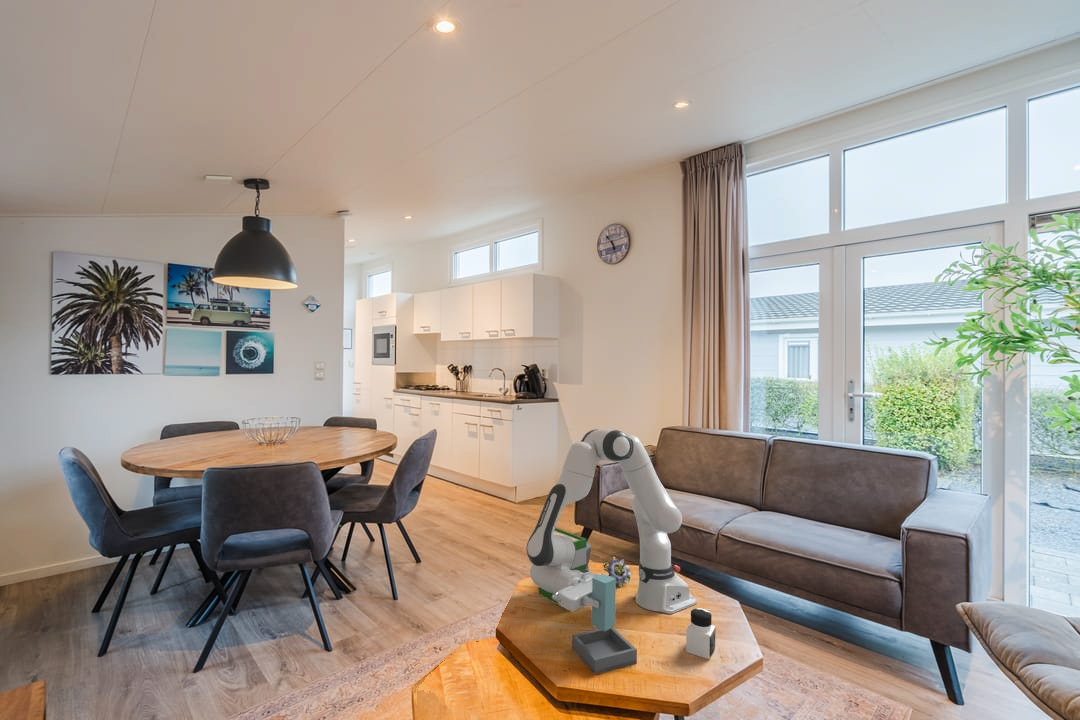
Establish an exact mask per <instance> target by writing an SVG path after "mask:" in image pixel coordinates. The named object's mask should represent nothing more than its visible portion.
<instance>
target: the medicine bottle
mask: <svg viewBox="0 0 1080 720" xmlns="http://www.w3.org/2000/svg"><path fill="white" fill-rule="evenodd" d="M712 617H713V616H712V614H711V612H710V611H708V609H704V608H700V607H699V608H698V607H697V608H696V607H695V608H693V609H692V610H690V623H689V625H688V626H687V628H686V630H685V631H686V633H685V634H686V636H685V640H686V643H685V648H686V649H685V651H686V653H688V654H689V655H693V656H698V657H700V658H704V659H706V660H711V658H712V656H713V654H714V652H715V650H716V626H715V625H713V624H712Z"/></svg>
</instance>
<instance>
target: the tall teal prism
mask: <svg viewBox="0 0 1080 720" xmlns="http://www.w3.org/2000/svg"><path fill="white" fill-rule="evenodd" d="M608 575H609V574H605V573H601V574H599V575H598V576H596V577H594V578H592V599H594V600H595V599H598V600H600V601H601V606H600V607H598V608H596V607H594V606H591V626H592V627H595V628H596V629H601V630H603V631H607V630H608V629H610V628H612V627H613V628H614V627H615V626H616V598H617V597H616V592H617V588H616V587H617V584H616V578H613V577H611V576H608Z"/></svg>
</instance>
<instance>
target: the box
mask: <svg viewBox="0 0 1080 720" xmlns="http://www.w3.org/2000/svg"><path fill="white" fill-rule="evenodd" d="M571 639H572V640H571V642H572V643H571V649H572V650H573V651H574V652H575V653H576V655H578V657H579V658H580V659H581V661H582V662H583V663H584V664H585V665H586V666H587V667H588V668H589V670H590V671H591V672H592V673H593V674H594V675H598V674H599V675H600V674H603V673H607V672H610V671H613V670H617V669H620V668H621V669H622V668H624V667H627V666H628V667H629V666H632V665H636V664H638V663H637V662H638V658H637V657H638V649H637V648H636V647H635V646H634V645H633V644H631V642H629V641H628V640H627V639H626V638H625V637H624V636H623V635H622V634H621V633H619V631H617V630H616V629H615V628H614V626H613V627H612V628H610V629H608V630H607V631H603V630H601V629H598V628H596V629H593V630H589V631H585V632H581V633H575V634H572V638H571Z"/></svg>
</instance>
